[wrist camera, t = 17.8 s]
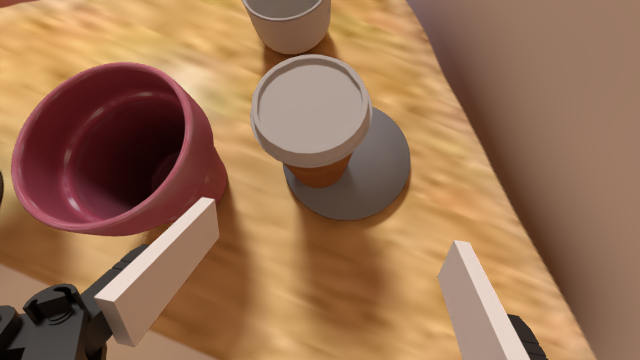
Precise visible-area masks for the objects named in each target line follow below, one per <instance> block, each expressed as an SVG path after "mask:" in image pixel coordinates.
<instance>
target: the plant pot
mask: <svg viewBox="0 0 640 360" xmlns="http://www.w3.org/2000/svg"><path fill="white" fill-rule="evenodd" d="M11 174H12V181H13V186H14V190H15V192H16V195H17V197H18V199H19V201H20V202H21V204H22V205H23V207H24V208H25V209H26V210H27V212H28V213H30V214H31V215H32V216H33V217H34V218H35V219H37V220H38V221H40V222H42V223H44V224H46V225H48V226H50V227H53V228H55V229H59V230H63V231H68V232H75V233H82V234H90V235H100V236H128V235H134V234H138V233H141V232H145V231H148V230H150V229H153V228H155V227H157V226H159V225H161V224H165V223H173V222H176V221H177V220H178V219H179V218H180V217H181V216H182V215H183V214H184V213H186V212H187V211H188V210H189V209H190V208H191V207H192V206H193V205H194V204H195V203H196V202H197V201H199V200H200V199H201V198H202V197H204V198H210V199H215V205H217V204H218V203H219V201H220V200H221V198H222V196H223V194H224V192H225V188H226V184H227V173H226V169H225V166H224V164H223V162H222V160H221V159H220V157H219V155H218V153H217V151H216V149H215V147H214V143H213V134H212V129H211V126H210V123H209V121H208V118H207V116H206V115H205V113H204V112H203V110H202V109H201V107H200V106H199V105H198V104H197V103H196V102H195V100H194V99H193V98H192V97H191V96H190V95H189V94H188V93H187V92H186V91H185V90H184V89H183V88H182V87H181V86H180V85H179V84H178V83H177V82H176V81H175V80H173V79H172V78H171V77H170V76H168V75H167V74H165V73H164V72H162V71H160V70H158V69H156V68H153V67H151V66H147V65H143V64H139V63H131V62H117V63H109V64H104V65H100V66H96V67H93V68H90V69H88V70H85V71H83V72H80V73H78V74H77V75H75V76H73V77H71V78H69V79H68V80H66V81H65V82H63V83H62V84H60V85H59V86H58V87H56V88H55V89H54V90H53V91H51V92H50V93H49V94H48V95H47V96H46V97H45V98H44V99H43V100H42V101H41V102H40V103H39V104H38V105H37V107H36V108H35V109H34V110H33V112H32V113H31V114H30V116H29V117H28V119H27V120H26V122H25V123H24V125H23V127H22V129H21V131H20V133H19V136H18V138H17V141H16V144H15V147H14V151H13V156H12V163H11Z"/></svg>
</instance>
